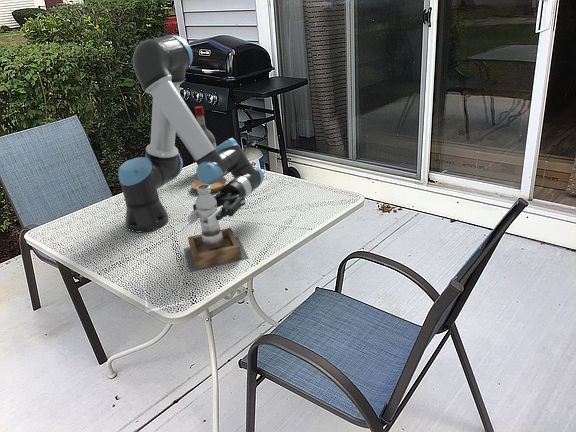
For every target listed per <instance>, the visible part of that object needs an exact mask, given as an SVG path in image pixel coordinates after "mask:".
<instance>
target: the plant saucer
mask: <svg viewBox="0 0 576 432" xmlns="http://www.w3.org/2000/svg"><path fill="white" fill-rule="evenodd" d="M227 181H228V179H227V178H226V177H225V176H224V177H223V178H222V179H221V180H219V181H217V182H215V183H214V184H210V185H209V186H210V190H211V192H210V194H212V193H215V192H218V191H221V189H222V188H223V186H225V185H226V184H227V183H228V182H227ZM200 185H208V184H204V183H202V182H201V181H200V180H199V179H197V180H194V181H193V182H192V183H191V188H192V189H193V190H195V191H196V192H198V190H197V187H198V186H200Z"/></svg>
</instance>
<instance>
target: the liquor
mask: <svg viewBox="0 0 576 432" xmlns="http://www.w3.org/2000/svg"><path fill="white" fill-rule="evenodd" d="M194 113H195V114H194V116H195V115H196V120H197V122H198V123H199V125H200V126H201V128H202V129H203V131H204V133H205V134H206V136H207V137H208V139H209V140H210V142H211V143H212V145H213V147H214V148H215V150H216V147H217V143H216V137H215V136H214V134H213V133H212V132H211V131H210V130H209V129H208V128H207V127H206V120H205V115H204V114H205V112H204V106H203V105H199V106H195V107H194Z"/></svg>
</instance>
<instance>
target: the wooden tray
mask: <svg viewBox="0 0 576 432" xmlns="http://www.w3.org/2000/svg"><path fill="white" fill-rule="evenodd" d="M220 230H221V232H222V235H223V243H222V245H221V246H220V247H218V248H214V249H209V248H206V247H205V246H204V245H203V242H202V233H200V234H196V235H191V236H188V237H187V239H188V240H187V241H188V244H189V245H188V246H189V247H190V250H191V253H192V257H193V260H194V264H195V267H196V269H200V268H204V267H208V266H212V265H217V264H221V263H225V262H229V261H234V260H238V259H242V257H241V250H240V246H239V244H238V242H237V240H236V238H235V237H236V236H235V233H234V231H233V230H232V228H231V227H227V228H224V229H220Z"/></svg>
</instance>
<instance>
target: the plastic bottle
mask: <svg viewBox="0 0 576 432" xmlns="http://www.w3.org/2000/svg"><path fill="white" fill-rule="evenodd" d="M197 190H198V191H197V195H198V196H197V198H196V200H195V203H194V204H195V206H196V209H197V212H198V215H199V222H200V226H201V227H200V228H201V234H202V242H203V245H204V246H205V247H206V248H209V249H214V248H218V247H220V246H221V245H222V243H223V235H222V232H221V230H222V229H221V226H220V223H219V220H218V221H217V222H216V223H215V224H214V225H213V226H212V227H209V225H208V219H207V218H208V217H210V216H211V215H212V214H213V213H214V212H216V211H217V210H218V208H217V201H216V199H215V198H214V197H213V196H214V195H213V194H212V193H210V192H211V190H210V186H209V185H200V186H198V187H197Z"/></svg>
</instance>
